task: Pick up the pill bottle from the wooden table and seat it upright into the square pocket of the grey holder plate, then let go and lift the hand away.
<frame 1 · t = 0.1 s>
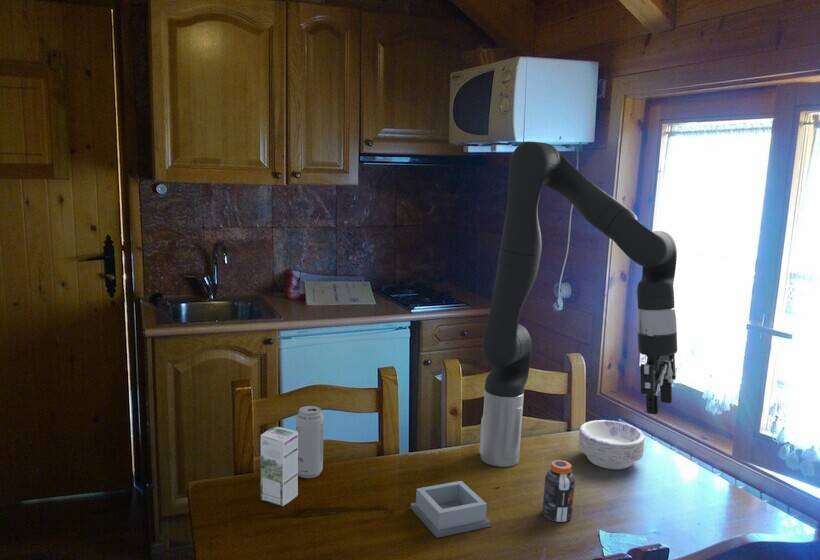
hand: (659, 407, 142), 22 cm above the table, tool pointing down, fingers open, 8 cm apart
paper bowls: (609, 462, 168), on the table
syrup box: (279, 499, 143), on the table
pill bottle: (556, 516, 141), on the table
energy drink can: (309, 474, 155), on the table
holder: (449, 516, 139), on the table
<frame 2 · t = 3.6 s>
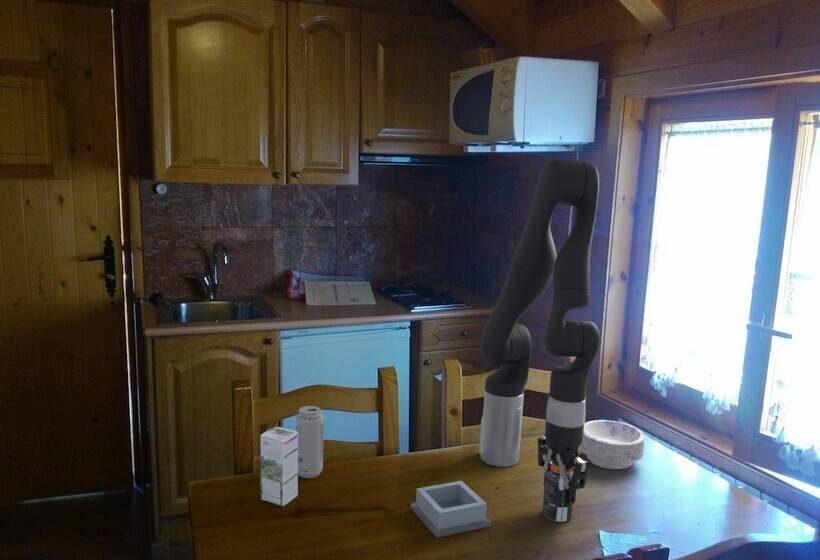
hand: (558, 496, 140), 4 cm above the table, tool pointing down, fingers closed on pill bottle, 6 cm apart
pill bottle: (556, 516, 141), on the table, touching gripper
everything else where it was.
when the fingers open (7 cm above the table, at t = 9.2 s): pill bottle drops 1 cm, resting on holder.
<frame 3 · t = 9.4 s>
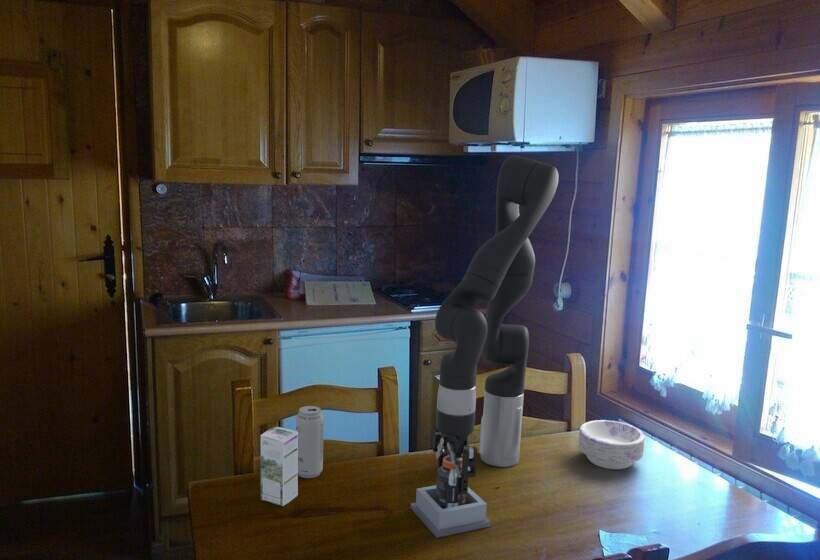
hand: (451, 484, 137), 7 cm above the table, tool pointing down, fingers open, 7 cm apart
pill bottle: (449, 512, 139), point 1 cm above the table, touching holder
everything else where it was.
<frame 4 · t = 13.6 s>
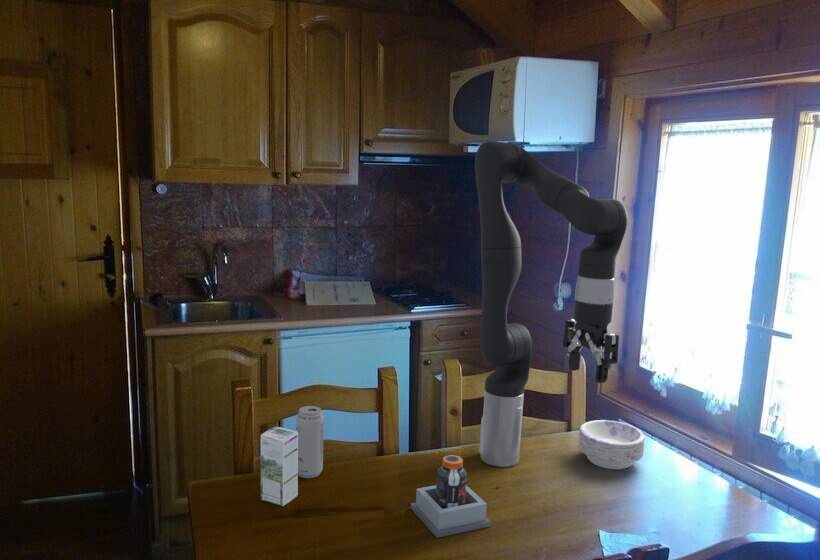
hand: (586, 375, 142), 28 cm above the table, tool pointing down, fingers open, 8 cm apart
nothing on the table moved.
at the end: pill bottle 0.3 cm off-centre on the holder, point 0.8 cm above the holder's base; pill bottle tilted 0°; the gripper is holding nothing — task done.
